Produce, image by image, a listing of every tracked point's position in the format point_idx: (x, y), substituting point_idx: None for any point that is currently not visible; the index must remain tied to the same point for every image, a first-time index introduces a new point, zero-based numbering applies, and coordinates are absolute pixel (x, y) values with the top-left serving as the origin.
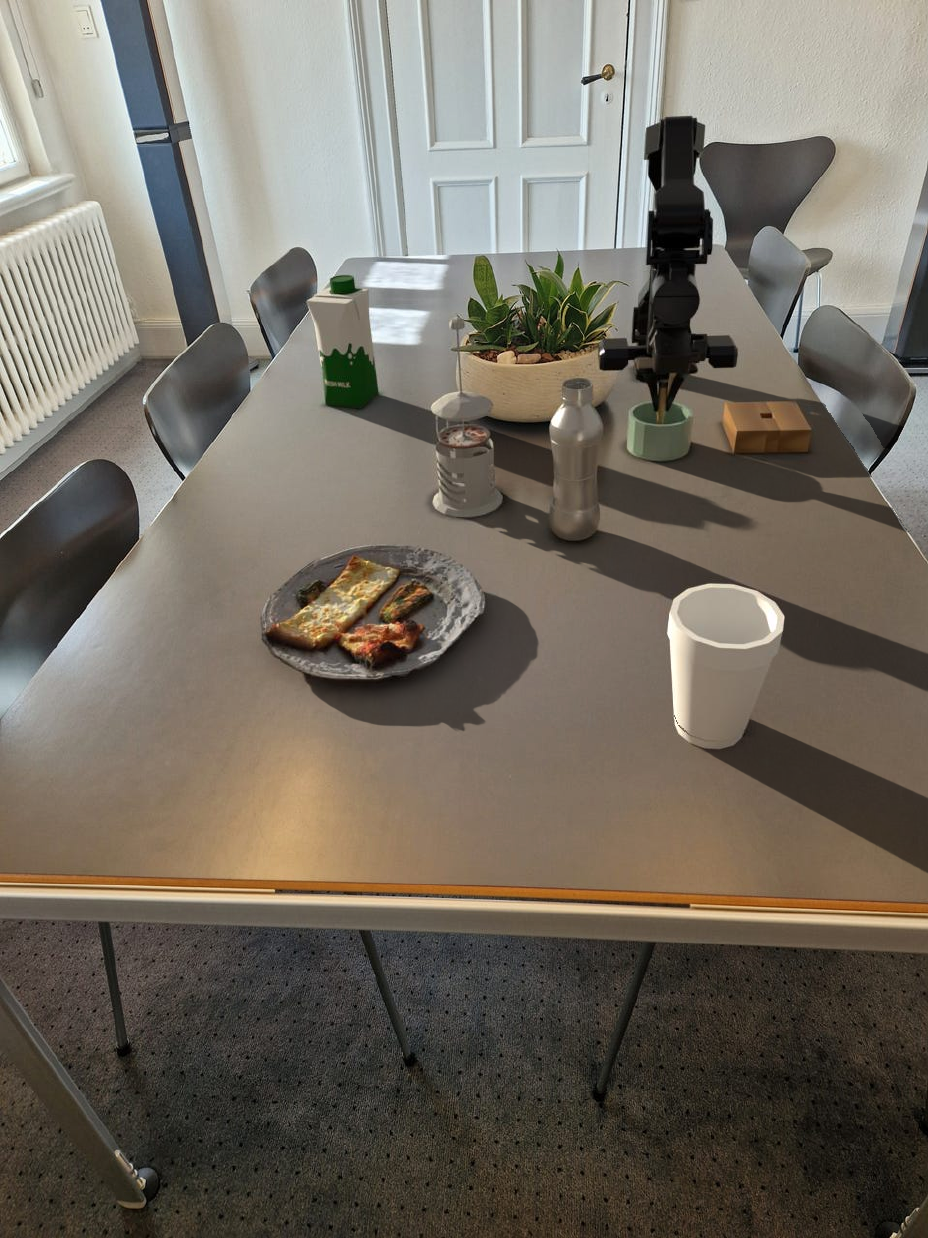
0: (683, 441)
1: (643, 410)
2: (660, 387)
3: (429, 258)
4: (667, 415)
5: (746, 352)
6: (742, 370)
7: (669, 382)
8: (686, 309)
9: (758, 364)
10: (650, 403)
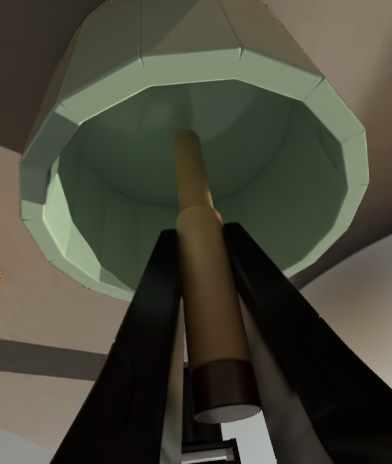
0: (62, 65)
1: None
2: (244, 361)
3: None
4: None
5: (47, 421)
6: (36, 399)
7: (178, 400)
8: None
9: (17, 410)
10: None
